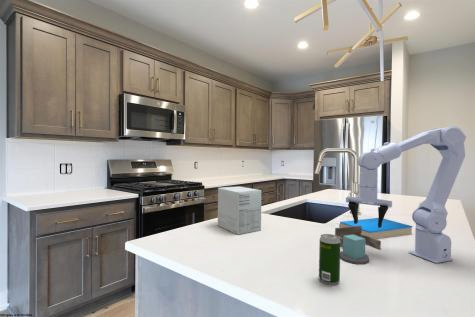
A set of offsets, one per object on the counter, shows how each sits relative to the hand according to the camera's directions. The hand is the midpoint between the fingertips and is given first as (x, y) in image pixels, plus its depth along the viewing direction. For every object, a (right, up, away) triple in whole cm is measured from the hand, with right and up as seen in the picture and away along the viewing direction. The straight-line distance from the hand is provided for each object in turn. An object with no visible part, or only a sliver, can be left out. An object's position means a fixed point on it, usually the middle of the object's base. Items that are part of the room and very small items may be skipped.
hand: (367, 225), depth 93 cm
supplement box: (-45, -9, +28) cm, 54 cm away
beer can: (-21, -10, -21) cm, 31 cm away
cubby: (-1, -9, +6) cm, 11 cm away
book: (+16, -10, +26) cm, 32 cm away
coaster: (-7, -10, -6) cm, 13 cm away
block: (-7, -9, -6) cm, 13 cm away
